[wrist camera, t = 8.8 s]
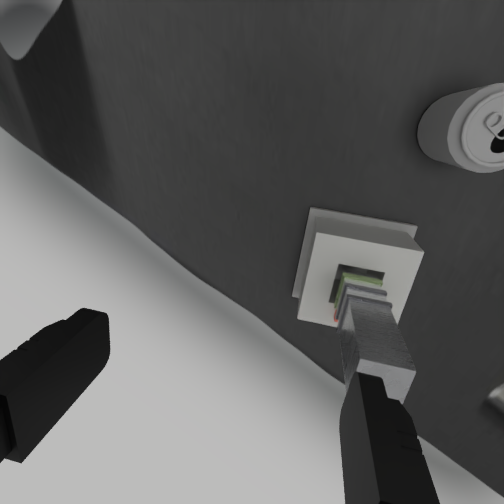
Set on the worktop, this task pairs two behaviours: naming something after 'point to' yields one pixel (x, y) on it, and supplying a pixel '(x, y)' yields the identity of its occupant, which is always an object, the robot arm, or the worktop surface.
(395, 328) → the column
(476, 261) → the worktop surface
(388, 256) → the stand base
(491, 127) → the can
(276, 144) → the worktop surface
